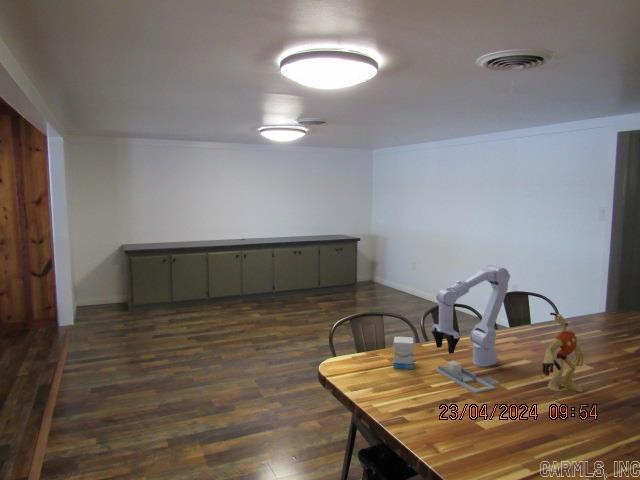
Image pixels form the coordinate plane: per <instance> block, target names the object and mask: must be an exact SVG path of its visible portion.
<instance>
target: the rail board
mask: <svg viewBox="0 0 640 480" xmlns="http://www.w3.org/2000/svg"><path fill="white" fill-rule="evenodd" d="M435 372H438V373H439V374H441V375H442V376H444V377H445V378H447V379H449V380H451V381H453V382H454V383H456V384H458V385H460V386H461V387H463V388H464V389H466V390H468V391H470V392H471V393H473V394H479V393H483V392H487V391H488V392H489V391H491V390H495V389H497V387H496V386H494V385H493V384H489V383H487V382H485V381H483V380H481V379H480V378H479V377H477V374H476V373H473V372H471V371H470V370H468V369H466V368H464V367H462V366H461V374H455V373H454V372H452V371H450V370H448V369H447V366H446V367H445V366H444V365H441V364H438V367H437V368H436V369H435ZM474 381H475V382H477V383H479V384H481V386H482V385H483V387H478V388H474V387H473V386H471V385H470V384H467V383H469V382H474Z"/></svg>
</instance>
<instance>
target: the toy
mask: <svg viewBox="0 0 640 480" xmlns="http://www.w3.org/2000/svg"><path fill="white" fill-rule="evenodd" d="M549 314H550V316H554V320H555V321H556V322H557V323H558V324H559V326H561V329H562V331H561V332H560V333H558V335H556V336H555V338H553V340H552V341H551V343H550V344H549V345H548V347H547V349H546V350H545V354H544V359H543V363H542V374H544V375H545V377H547V376H550V373H551V374H552V373H554V366H555V368H556V370H557V372H556V373H555V374H553V376H552V377H551V379H550V380H549V382H548V384H547V387H548V389H550V390H552V391H555V392H559V391H560V387H559V382H560V380H561V378H562V376H563V374H564V362H565V364H567V366H569V367H570V368H569V369H568V370H567V371H566V372H565V374H564V376H563V378H562V380H561V387H564V388H566V389H569V390H572V391H575V392H579V393H582V392H584V391H583V390H584V389H583V388H582V387H581V386H579V384H577V383H575V382H574V381H573V376H574V374H575V373H574V372H575V371H576V370H577V368H576V367H583V364H584V358H585V357H586V354H585V353H584V352H583V350H582V349H581V347H580V346H579V344H578V337H577V336H576V334H575V332H574V331H572V330H567V326H569V325H568V324H569V322H566V320H565V318H564V317H563V316H562V314H560V313H558V314H557V313H555V312H549ZM559 348H560V350H558V351H557V349H559ZM556 351H557V353H556V356H555V352H556ZM573 352H574V356H575V357H574V358H573V360H572V361H571V360H570V358H569V357H568V356H570V355H571V354H572V353H573ZM554 356H555V357H556V360H557V361H556V360H555V357H554ZM559 396H560V395H558V397H559Z"/></svg>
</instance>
